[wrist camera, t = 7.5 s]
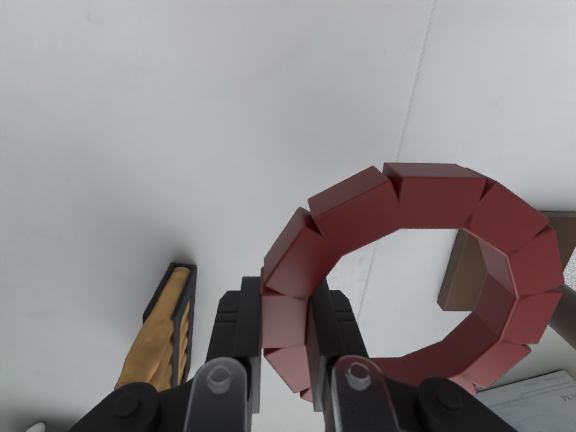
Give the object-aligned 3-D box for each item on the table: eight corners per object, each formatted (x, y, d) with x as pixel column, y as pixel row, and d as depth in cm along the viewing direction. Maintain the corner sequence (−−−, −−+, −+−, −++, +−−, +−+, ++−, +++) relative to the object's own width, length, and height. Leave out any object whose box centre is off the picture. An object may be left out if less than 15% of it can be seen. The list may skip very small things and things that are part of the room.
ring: (261, 384, 14) (260, 421, 12) (260, 159, 10) (258, 174, 8) (481, 379, 14) (504, 413, 13) (570, 165, 10) (620, 180, 9)
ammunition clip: (170, 261, 22) (64, 446, 11) (197, 264, 22) (119, 450, 11) (167, 367, 26) (89, 576, 15) (189, 369, 26) (128, 577, 15)
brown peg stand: (436, 302, 24) (568, 488, 13) (464, 208, 21) (671, 352, 10) (534, 303, 25) (740, 484, 14) (576, 211, 21) (894, 353, 10)
